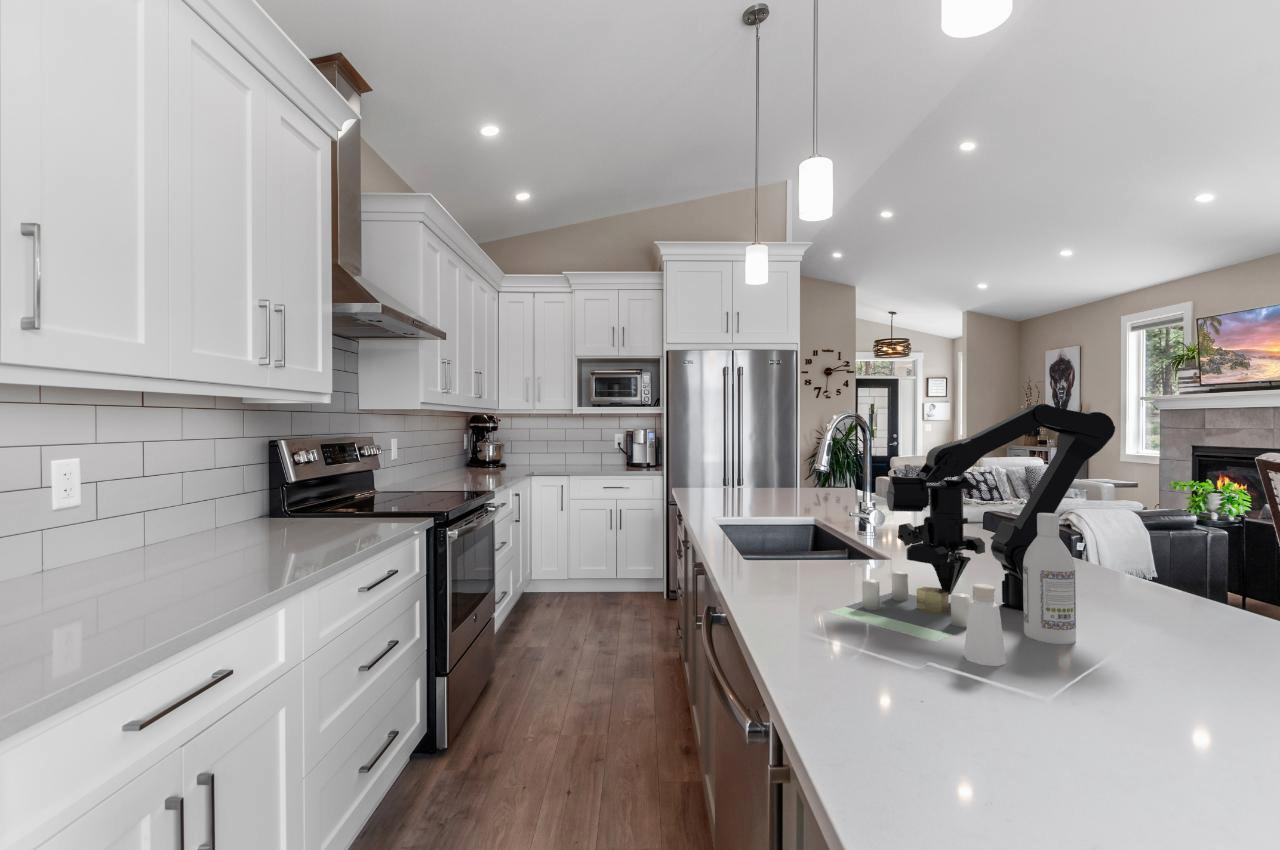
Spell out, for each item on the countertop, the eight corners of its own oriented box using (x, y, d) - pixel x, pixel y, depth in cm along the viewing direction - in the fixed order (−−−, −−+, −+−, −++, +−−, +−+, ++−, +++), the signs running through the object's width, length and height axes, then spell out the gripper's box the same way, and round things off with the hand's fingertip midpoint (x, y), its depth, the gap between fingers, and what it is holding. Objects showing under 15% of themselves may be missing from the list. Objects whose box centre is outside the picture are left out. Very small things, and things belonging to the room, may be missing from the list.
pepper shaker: (1015, 667, 86) (1014, 589, 87) (981, 670, 86) (980, 591, 86) (987, 653, 92) (987, 580, 92) (955, 656, 91) (954, 581, 91)
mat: (1000, 616, 110) (1000, 614, 110) (935, 644, 96) (935, 641, 96) (895, 593, 126) (895, 591, 126) (827, 614, 112) (827, 611, 112)
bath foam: (1086, 643, 96) (1085, 515, 96) (1055, 649, 94) (1053, 517, 94) (1044, 630, 102) (1042, 510, 103) (1013, 635, 100) (1012, 512, 100)
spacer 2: (911, 599, 120) (911, 573, 120) (903, 601, 118) (902, 575, 118) (897, 595, 122) (896, 570, 122) (888, 598, 121) (888, 572, 121)
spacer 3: (974, 625, 104) (973, 595, 104) (965, 628, 102) (965, 598, 102) (956, 620, 106) (955, 592, 106) (947, 624, 104) (947, 594, 104)
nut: (952, 609, 113) (951, 590, 113) (937, 614, 110) (937, 595, 110) (927, 604, 117) (927, 585, 117) (913, 609, 113) (912, 590, 113)
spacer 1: (882, 608, 114) (882, 581, 114) (873, 611, 112) (873, 583, 112) (868, 604, 116) (868, 578, 116) (859, 607, 115) (858, 580, 115)
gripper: (930, 504, 129) (930, 578, 129) (880, 512, 117) (880, 593, 117) (985, 509, 120) (986, 589, 120) (937, 518, 109) (938, 606, 108)
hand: (947, 594), depth 116 cm, fingers closed
